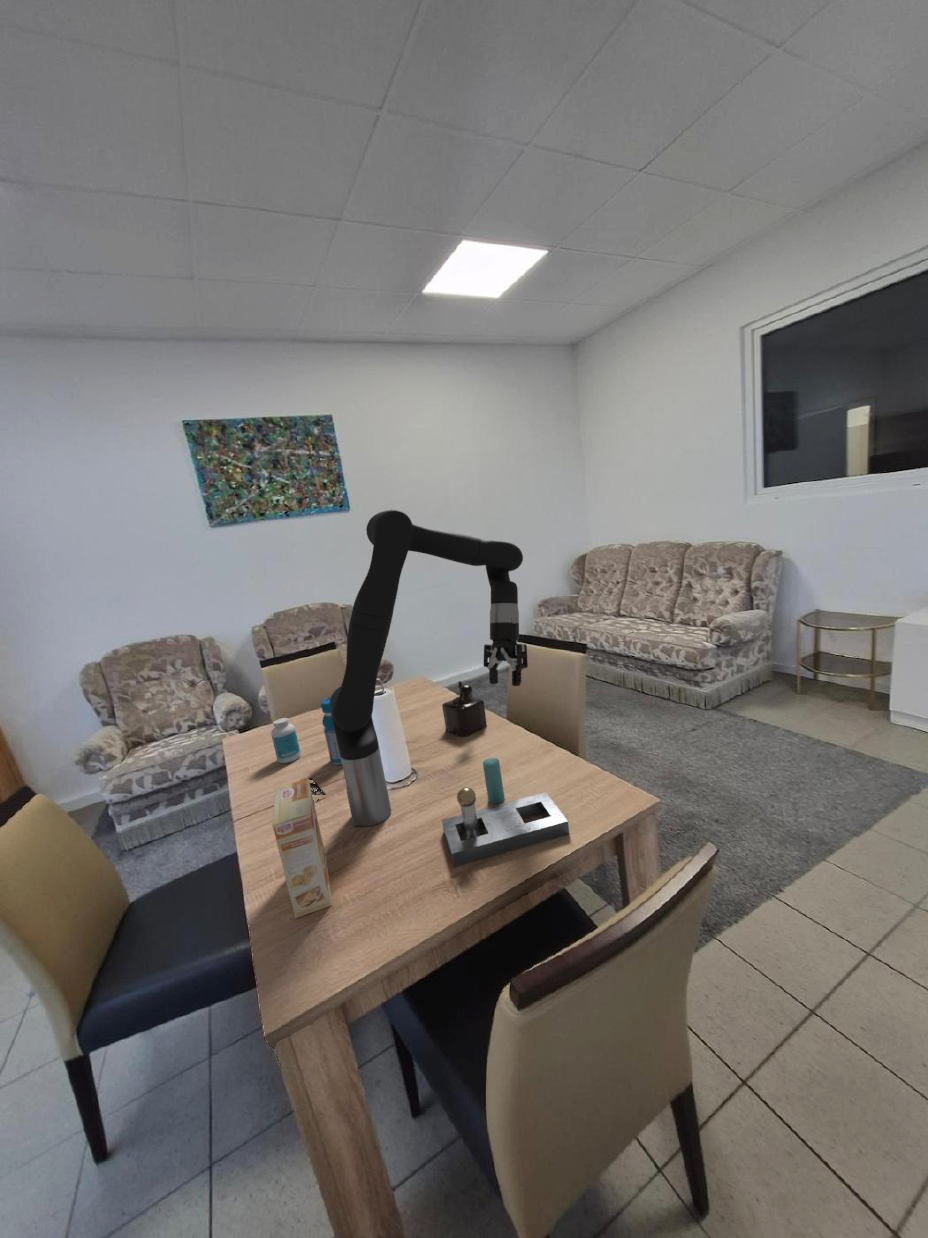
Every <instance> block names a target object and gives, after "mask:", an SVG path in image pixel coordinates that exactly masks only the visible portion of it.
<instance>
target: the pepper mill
mask: <svg viewBox="0 0 928 1238" xmlns="http://www.w3.org/2000/svg"><path fill="white" fill-rule="evenodd" d="M457 684H458V688H457V689H459V696H457V697H455V698H453V699H452V700H449V701H447V702H444V703H442V706H441V707H442V712H443V713H442V714H443V721H444V727H445V730H446V731H447V732H449V733H451V734H452V735H453V734H454V735H456V736H460V737H467V736H471V735H473V734H474V733H476V732H479V731H481V730H483V729H484V728H486V727H488V724H487V718H486V717H487V716H486V709H485V702H484V700H483V699H479V698H476V697H473V687H472V686H471V685H469V684H464V685H463V683H462V681H458V683H457Z"/></svg>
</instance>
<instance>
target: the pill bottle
mask: <svg viewBox="0 0 928 1238" xmlns="http://www.w3.org/2000/svg"><path fill="white" fill-rule="evenodd" d="M270 735H271V736H270V737H271V739H272V743H273V747H274V751H275V757H276V759H277V762H278V763H279V764H287V763H293V762H294V761H297V760H298V759H299V758H300V757H301V755H302V753H301V749H300V745H299V739H298V734H297V731H296V727H295V725H294V724H293V723H290V721H289V718H288V717H282V718H278V719H275V721H273V728H272V729H271V732H270Z"/></svg>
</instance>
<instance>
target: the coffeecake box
mask: <svg viewBox="0 0 928 1238" xmlns="http://www.w3.org/2000/svg"><path fill="white" fill-rule="evenodd" d="M274 789H275V791H274V800H273V813H272V824H271V825H272V829H273V831H274V832H273V833H274V835H275V836H274V837H275V840H276V846H277V849H278V854H279V857H280V861H281V862H280V863H281V866H282V868H283V874H284V877H285V883H286V886H287V887H286V888H287V890H288V894H289V899H290V902H291V903H290V904H291V906H292V911H293V915H294V916H293V917H294V919H295V920H296V919H298V918H300V917H304V916H306V915H308V914H312V913H315V912H317V911H321V910H323V909H326V908H329V907H331V906H332V905H333V901H332V891H331V883H330V876H329V867H328V866H329V865H328V859H327V855H326V852H325V846H324V843H323V838H322V834H321V829H320V823H319V819H318V816H317V815H318V814H317V811H316V807H315V803H314V801H313V797H312V792H311V787H310V782H309V778H306V779H302V780H299V781H295V782H292V783H289V784H285V785H282V786H277V787H275V788H274Z"/></svg>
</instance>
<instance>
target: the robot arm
mask: <svg viewBox="0 0 928 1238" xmlns="http://www.w3.org/2000/svg"><path fill="white" fill-rule="evenodd" d="M365 529H366V536H367V538H368V540H369V543H371V545H373V547H372V548H373V549H372V554H371V559H370V560H371V561H370V565H369V568H368V570H367V574H366V576H365V578H364V580H363V581H362V584H361V585H360V586H361V587H360V588H359V590H358V592H357V595H356V597H355V599H354V603H353V607H352V611H351V614H350V618H349V619H350V620H349V624H348V628H347V629H348V631H347V640H346V641H347V642H346V660H345V661H346V665H345V671H344V675H343V679H342V682H341V686H339V687H338V688H336V689H335V690H334V692H333V693H332V694H331V696H330V697H331V699H330V711H331V715H332V720H333V725H334V729H335V734H336V739H337V743H338V748H339V752H340V756H341V761H342V764H341V765H342V770H343V774H344V779H345V783H346V795H347V801H348V806H349V809H350V811H349V812H350V815H351V819H352V824H353V827H357V826H358V827H359V826H360V827H369V826H370V827H371V826H374V825H377V824H380V823H382V822H384V821H385V820H387V819H388V818H389V817H390V815H391V813H392V808H391V801H390V798H389V792H388V787H387V781H386V776H385V771H384V765H383V761H382V756H381V750H380V746H379V740H378V736H377V732H376V729H375V725H374V720H373V716H372V715H373V711H374V702H375V701H374V700H375V693H376V687H377V686H376V685H377V678H378V673H379V670H380V667H381V666H380V665H381V663H382V659H383V655H384V654H385V653H384V652H385V648H386V646H387V641H388V637H389V633H390V631H391V630H390V628H391V625H392V620H393V615H394V609H395V606H396V599H397V596H398V591H399V584H400V580H401V579H400V578H401V575H402V571H403V568H404V565H405V561H406V559H407V556H408V553H409V552H410V551H411V552H414V553H415V552H416V553H422V554H425V555H430V556H434V557H438V558H441V559H445V560H448V561H452V562H456V563H459V564H464V565H469V566H473V567H482V566H485V571H486V574H487V575H486V576H487V579H488V584H489V586H490V609H489V640H491V641H492V644H487V643H485V644H484V645H483V664H482V665H483V667H485V668H487V669H488V670H489V673H488V674H489V677H488V679H489V684H490V685H497V684H498V682H499V673H498V672H499V669H498V668H499V666H500V664H502V663H503V662H507V664H508V665H510V667H511V669H512V671H511V685H512V687H520V686H521V684H522V671H523V670H524V669H527V668H528V662H529V661H528V648H527V644H525V643H518V640H519V639H520V611H519V604H518V603H519V602H518V601H519V599H518V598H519V597H518V595H519V594H518V592H519V591H518V589H519V588H518V585H517V583H515V582H514V581H511V579H510V573H509V572H512V571H513V572H514V571H516V570H517V569H518V568H519V567H520V566H521V565H522V563H523V561H524V557H523V552H522V551H521V549H520V548H519V547H518V546H517V545H516V544H514V543H511V542H507V541H502V540H501V541H499V540H490V539H488V540H486V539H481V538H478V537H476V536H475V537H474V536H471V535H467V534H462V533H459V532H453V531H445V530H438V529H432V528H429V527H428V528H427V527H423V526H420V525H417V524H415V523H412V520H411V518H410V517H409V515H408V514H407V513H406V512H404V511H402V510H398V509H389V510H383V511H381V512H377V513H376V514H374V515H373V516H372V517H371V518H370V519H369V521H367V525H366V528H365Z"/></svg>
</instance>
